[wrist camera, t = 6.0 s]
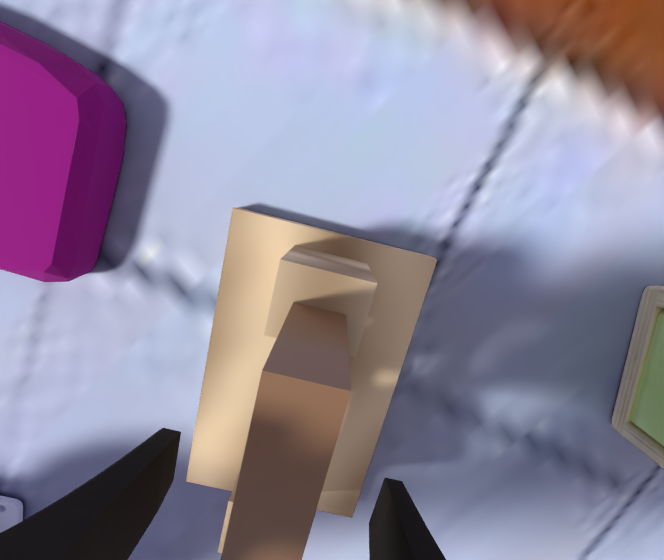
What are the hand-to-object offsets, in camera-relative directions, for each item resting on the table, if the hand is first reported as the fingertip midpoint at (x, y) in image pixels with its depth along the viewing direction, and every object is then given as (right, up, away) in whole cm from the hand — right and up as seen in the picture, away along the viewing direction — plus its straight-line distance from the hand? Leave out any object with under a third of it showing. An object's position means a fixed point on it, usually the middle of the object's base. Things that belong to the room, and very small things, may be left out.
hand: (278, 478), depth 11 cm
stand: (0, +2, +7) cm, 7 cm away
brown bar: (0, 0, +2) cm, 2 cm away
